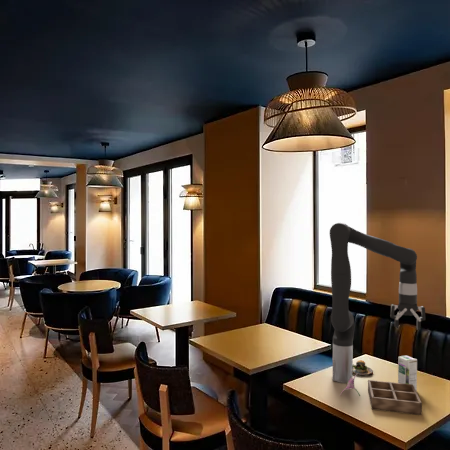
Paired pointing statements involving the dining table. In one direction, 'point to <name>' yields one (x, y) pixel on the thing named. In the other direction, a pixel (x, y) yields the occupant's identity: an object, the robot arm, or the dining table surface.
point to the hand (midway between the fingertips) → (407, 328)
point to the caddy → (394, 397)
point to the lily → (350, 384)
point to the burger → (361, 368)
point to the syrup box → (407, 370)
